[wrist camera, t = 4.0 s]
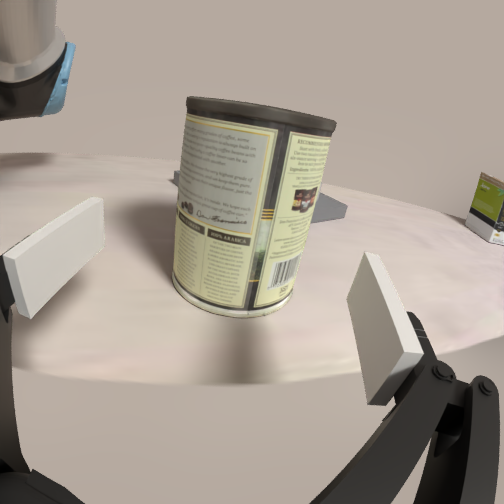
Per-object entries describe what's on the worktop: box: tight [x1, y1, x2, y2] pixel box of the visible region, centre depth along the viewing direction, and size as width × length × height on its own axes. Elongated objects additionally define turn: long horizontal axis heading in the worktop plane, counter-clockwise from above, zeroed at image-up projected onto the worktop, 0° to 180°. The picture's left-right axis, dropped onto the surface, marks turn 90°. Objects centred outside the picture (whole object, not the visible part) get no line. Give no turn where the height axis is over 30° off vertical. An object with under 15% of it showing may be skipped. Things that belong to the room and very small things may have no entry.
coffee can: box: [172, 96, 337, 318], centre depth 23 cm, size 10×10×14 cm
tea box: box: [465, 172, 504, 245], centre depth 57 cm, size 15×10×15 cm, turn 97°
